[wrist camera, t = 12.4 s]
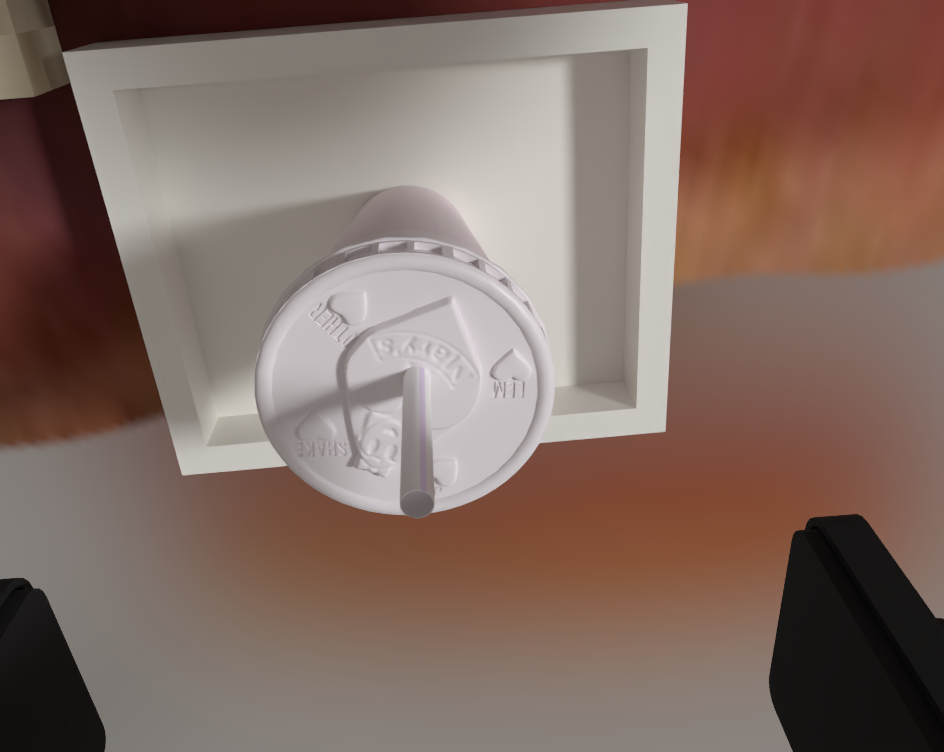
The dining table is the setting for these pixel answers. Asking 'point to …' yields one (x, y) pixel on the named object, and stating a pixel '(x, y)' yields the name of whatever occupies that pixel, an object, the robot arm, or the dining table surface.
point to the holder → (29, 50)
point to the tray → (387, 166)
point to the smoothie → (405, 364)
